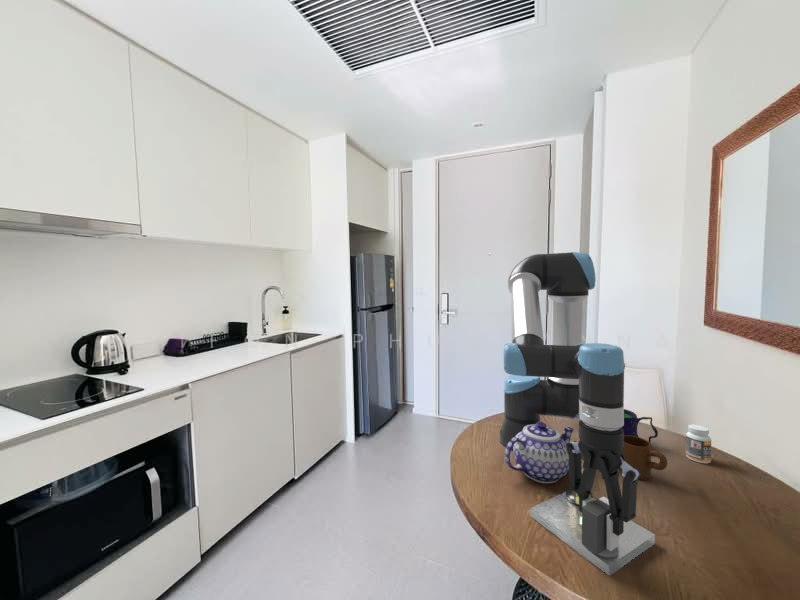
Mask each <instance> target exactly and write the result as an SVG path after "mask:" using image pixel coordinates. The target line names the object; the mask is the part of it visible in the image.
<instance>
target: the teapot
mask: <svg viewBox="0 0 800 600" xmlns="http://www.w3.org/2000/svg"><path fill="white" fill-rule="evenodd" d="M574 430H575V429H574V428H573V427H570V426H569V427H568V426H566V427H564V428H563V431H562V433H561V434H560V432H559V431H558V430H557V429H555V428H553V427H550V426H548V425H547V424H546V423H545V422H543V421H540V422H537V423H536V424H532V425H527V426H525V427H524V428H523V430H522V431H521V432H519V433H518V434H517V435H516V436H515V437H513V438H512V439H511V440H510V441H509V443H508V444H507V447H506V446H505V451H504V461H505V463H506V465H507V467H509V468H510V469H512V470H514V471H519V472H522V473H523V474H524V475H525V476H526V477H527V478H528V479H530V480H533V481H535V482H537V483H542V484H553V483H554V484H555V483H556V482H558V481H559V480H560V479H562V478H563V477H565V476H566V475H567V474H568V472H569V454H568V451H567V448H566V444H567V443H569V442H571V437H572V433H573V432H574ZM512 447H513V450H512ZM511 452H512V453H513V459H514V460H513V461H515V464H516V465H513V464H512V463H511Z"/></svg>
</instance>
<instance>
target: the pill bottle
mask: <svg viewBox="0 0 800 600" xmlns="http://www.w3.org/2000/svg"><path fill="white" fill-rule="evenodd" d="M687 426H688V427H687V430H688V431H687V432H686V434H685V455H686V458H688V459H689V460H691V461H693V462H697V463H699V464H710V463H711V462H712V438H711V437H710V436H709V433H710V430H709V428H707V427H706V426H703V425H699V424H693V423H692V424H688V425H687Z"/></svg>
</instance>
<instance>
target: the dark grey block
mask: <svg viewBox="0 0 800 600" xmlns="http://www.w3.org/2000/svg"><path fill="white" fill-rule="evenodd" d="M594 500H595V501H593V502H591V503H589V504H587V505H585V506H583V507H582V544H583V545H584V546H585V547H587V548H588V549H589V550H590V551H592V552H593V553H595V554H596V555H600V556H603V557H608V558H611V557H615V556H617V554H618V547H616V548H615V549H613V550H612V551H610V550H608V549H607V515H609V514H610V513H611V511H610V506H609V501H608V497H606V496H604V495H603V496H601V497H598V498H597V499H594Z"/></svg>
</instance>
